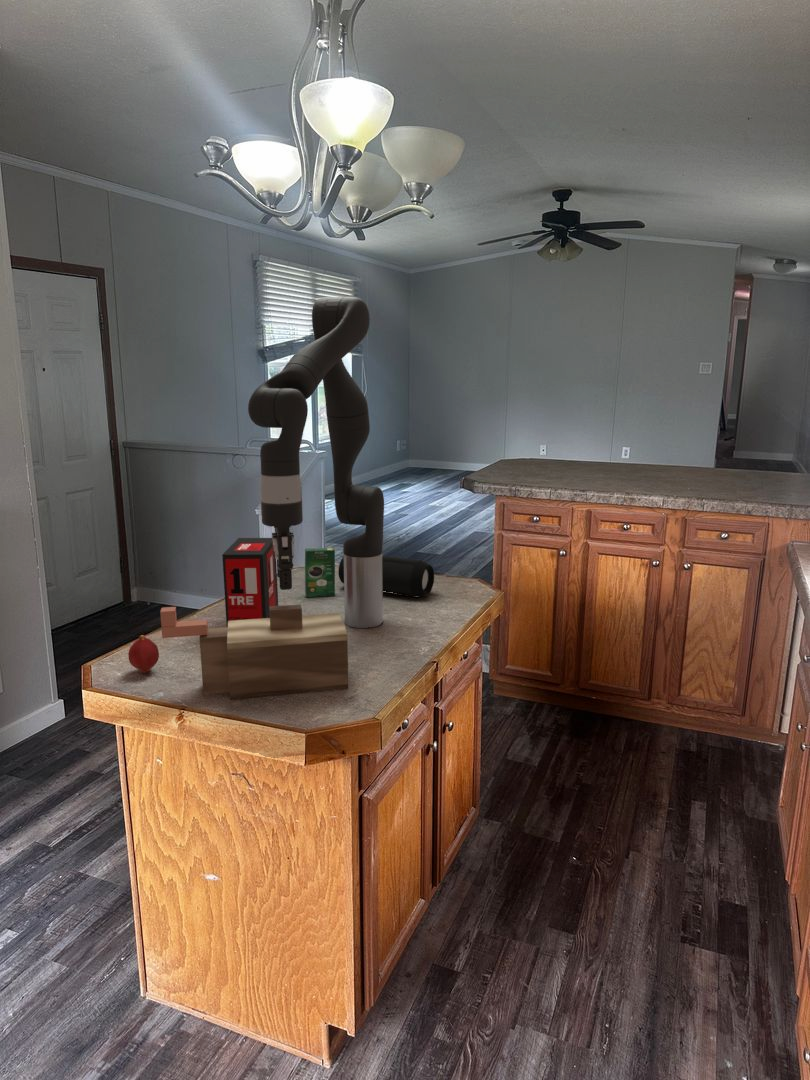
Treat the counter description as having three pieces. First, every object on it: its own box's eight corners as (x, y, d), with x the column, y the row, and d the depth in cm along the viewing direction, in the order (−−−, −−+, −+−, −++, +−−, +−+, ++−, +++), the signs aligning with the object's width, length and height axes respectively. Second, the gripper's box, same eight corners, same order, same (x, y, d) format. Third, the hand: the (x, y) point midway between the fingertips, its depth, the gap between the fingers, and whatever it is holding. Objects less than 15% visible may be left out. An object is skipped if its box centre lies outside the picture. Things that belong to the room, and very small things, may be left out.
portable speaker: (435, 593, 200) (435, 557, 198) (420, 603, 191) (420, 566, 189) (354, 581, 211) (354, 548, 209) (336, 590, 202) (336, 555, 200)
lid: (228, 631, 144) (226, 601, 143) (339, 623, 149) (338, 594, 148) (227, 654, 132) (225, 622, 131) (347, 645, 137) (347, 613, 136)
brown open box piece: (205, 676, 145) (201, 623, 143) (340, 664, 151) (339, 613, 148) (202, 702, 134) (198, 645, 131) (348, 688, 139) (347, 633, 137)
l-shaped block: (163, 632, 137) (161, 607, 136) (207, 629, 139) (206, 604, 138) (162, 638, 134) (160, 612, 133) (207, 634, 136) (205, 609, 135)
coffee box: (334, 593, 200) (333, 546, 197) (336, 596, 197) (335, 549, 194) (305, 595, 198) (303, 548, 195) (306, 598, 196) (304, 550, 193)
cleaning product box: (242, 616, 181) (238, 537, 176) (278, 616, 181) (275, 537, 177) (227, 640, 165) (222, 554, 160) (266, 640, 165) (262, 554, 160)
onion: (130, 668, 149) (126, 631, 147) (159, 664, 151) (156, 628, 149) (130, 679, 144) (126, 641, 142) (160, 675, 146) (157, 637, 144)
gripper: (305, 504, 129) (307, 592, 132) (298, 492, 142) (301, 572, 146) (261, 505, 127) (265, 595, 131) (259, 493, 141) (263, 574, 144)
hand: (284, 583), depth 138 cm, fingers open, 8 cm apart
